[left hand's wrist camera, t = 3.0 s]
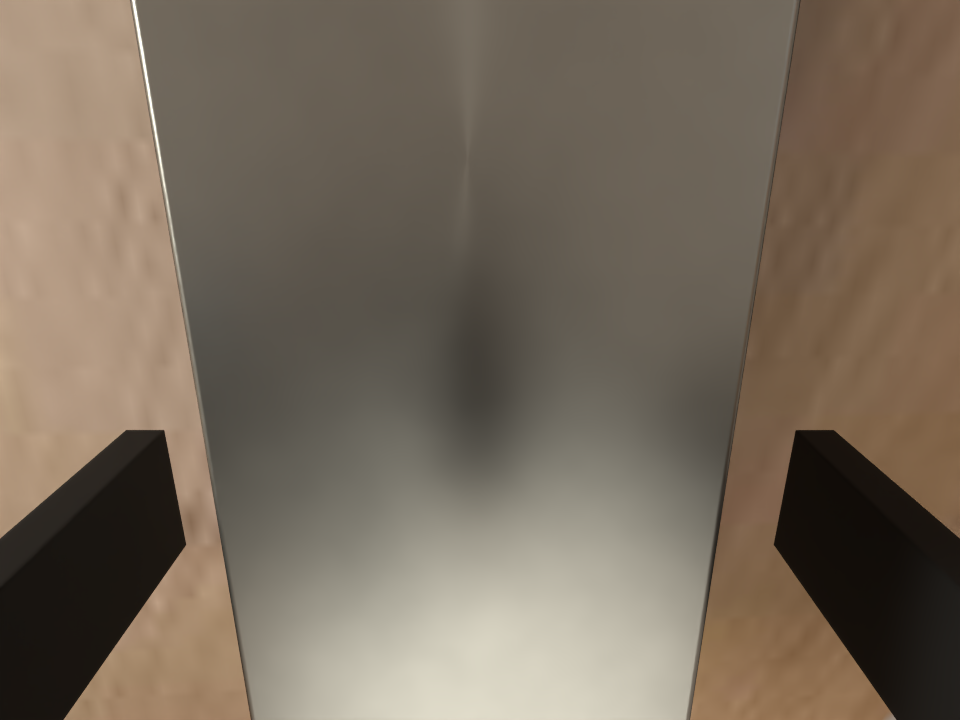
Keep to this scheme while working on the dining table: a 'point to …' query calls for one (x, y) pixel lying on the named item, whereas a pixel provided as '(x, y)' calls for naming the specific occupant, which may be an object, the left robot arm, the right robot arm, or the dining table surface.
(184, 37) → the bar
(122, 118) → the dining table surface
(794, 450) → the left robot arm
